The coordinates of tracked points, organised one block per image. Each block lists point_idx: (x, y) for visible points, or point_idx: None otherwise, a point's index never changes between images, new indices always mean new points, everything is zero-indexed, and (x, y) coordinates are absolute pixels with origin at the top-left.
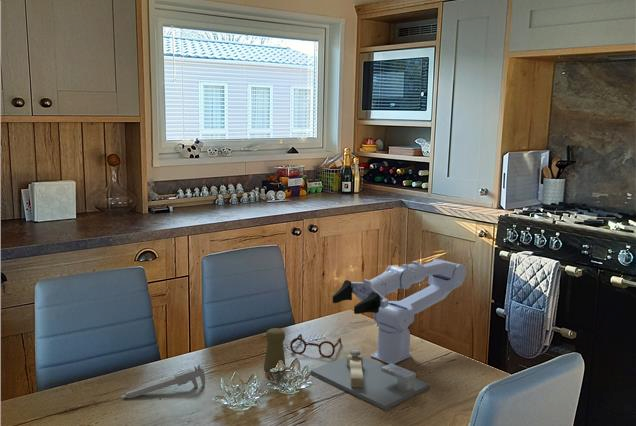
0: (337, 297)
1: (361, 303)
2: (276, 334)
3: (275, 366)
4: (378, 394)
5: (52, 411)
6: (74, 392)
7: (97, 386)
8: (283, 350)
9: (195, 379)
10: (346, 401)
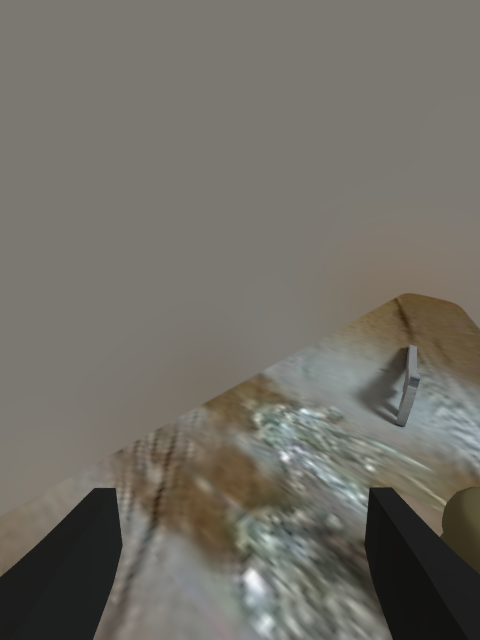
0: (380, 539)
1: (58, 529)
2: (458, 496)
3: None
4: None
5: (408, 309)
6: (457, 333)
7: (469, 350)
8: None
9: (402, 397)
10: None
